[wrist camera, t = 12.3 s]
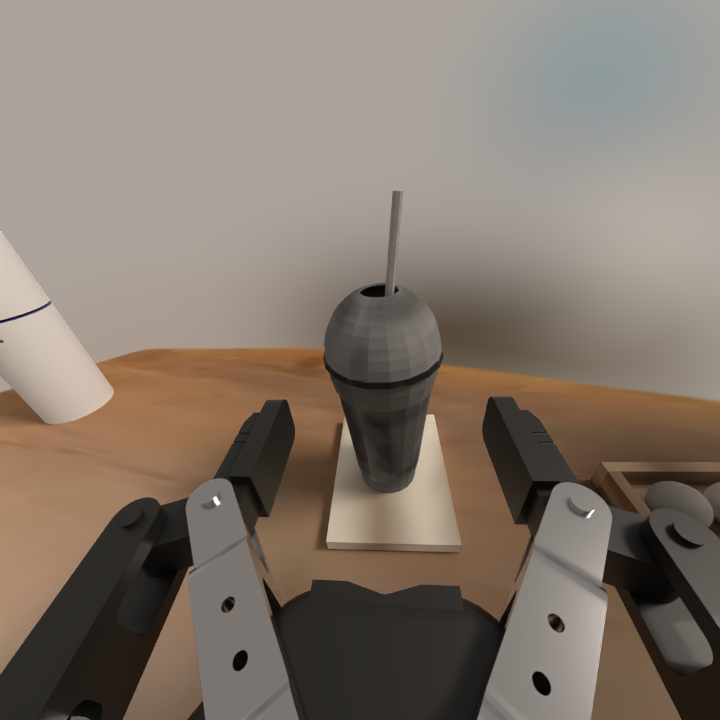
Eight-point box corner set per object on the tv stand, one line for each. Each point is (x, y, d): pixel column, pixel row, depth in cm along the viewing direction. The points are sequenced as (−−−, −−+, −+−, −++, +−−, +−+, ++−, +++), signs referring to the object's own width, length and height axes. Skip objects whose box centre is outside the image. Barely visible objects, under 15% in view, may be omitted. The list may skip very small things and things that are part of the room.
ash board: (433, 421, 29) (433, 414, 29) (459, 552, 19) (461, 545, 19) (345, 423, 30) (344, 416, 30) (328, 548, 20) (326, 541, 20)
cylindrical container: (114, 405, 36) (-63, 163, 22) (39, 434, 33) (-225, 170, 19) (113, 379, 41) (-33, 168, 27) (47, 402, 38) (-156, 175, 24)
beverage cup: (333, 450, 26) (282, 199, 15) (405, 424, 28) (406, 184, 17) (363, 527, 20) (316, 210, 9) (451, 488, 22) (497, 185, 11)
